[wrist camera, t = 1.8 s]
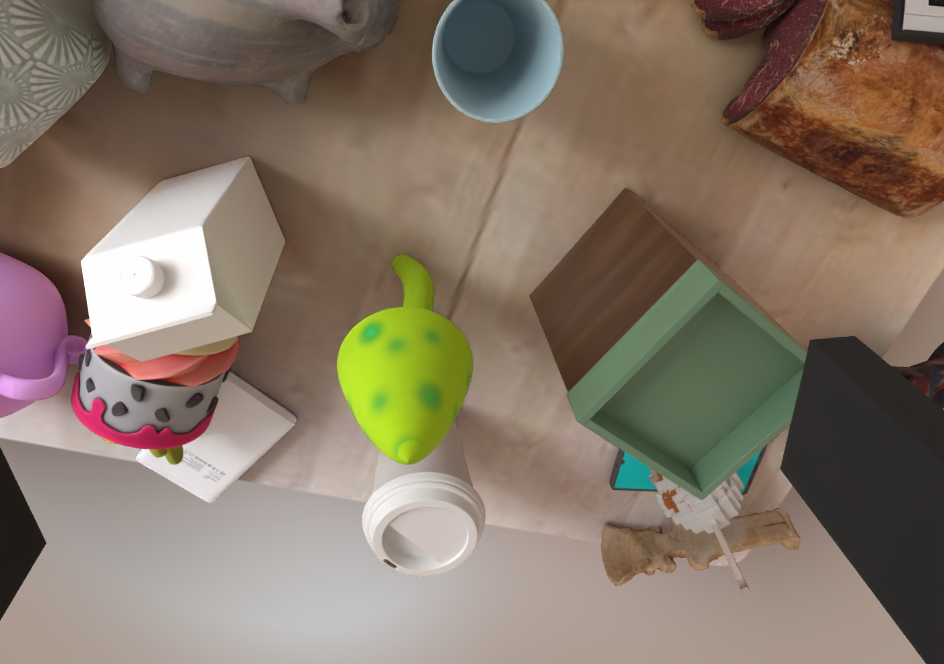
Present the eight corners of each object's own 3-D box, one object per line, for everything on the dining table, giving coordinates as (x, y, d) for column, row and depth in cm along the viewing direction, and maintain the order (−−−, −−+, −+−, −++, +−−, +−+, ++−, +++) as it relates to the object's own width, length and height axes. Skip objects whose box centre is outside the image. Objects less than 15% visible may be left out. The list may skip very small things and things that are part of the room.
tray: (565, 394, 46) (576, 421, 43) (698, 258, 42) (719, 279, 39) (685, 472, 50) (702, 501, 48) (815, 356, 46) (841, 381, 44)
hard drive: (297, 415, 62) (215, 494, 66) (222, 364, 59) (140, 449, 62) (295, 426, 61) (211, 505, 64) (218, 373, 58) (134, 460, 61)
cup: (538, -22, 47) (572, -16, 38) (527, 94, 51) (556, 125, 41) (427, -29, 46) (435, -24, 37) (425, 89, 50) (431, 121, 41)
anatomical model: (767, 422, 68) (830, 331, 75) (894, 499, 63) (949, 394, 70) (801, 370, 61) (868, 274, 67) (948, 452, 55) (1005, 339, 62)
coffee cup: (351, 396, 62) (340, 514, 49) (451, 364, 61) (466, 475, 48) (389, 471, 67) (388, 597, 54) (481, 442, 66) (503, 563, 53)
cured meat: (767, -168, 44) (826, -186, 38) (1040, -9, 50) (1126, -4, 45) (636, 103, 52) (668, 123, 46) (888, 210, 58) (944, 240, 52)
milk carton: (286, 240, 54) (240, 367, 38) (201, 264, 54) (118, 400, 38) (250, 154, 51) (182, 253, 34) (160, 180, 51) (48, 290, 34)
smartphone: (746, 494, 72) (610, 490, 69) (742, 489, 72) (608, 484, 70) (770, 439, 68) (628, 432, 66) (766, 433, 69) (625, 426, 67)
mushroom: (329, 255, 55) (288, 452, 33) (413, 195, 53) (426, 362, 32) (393, 327, 59) (393, 546, 37) (473, 273, 57) (521, 470, 35)
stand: (529, 296, 59) (567, 393, 46) (625, 187, 55) (697, 260, 42) (625, 363, 63) (685, 470, 50) (720, 267, 59) (813, 356, 46)
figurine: (774, 512, 75) (596, 543, 75) (779, 488, 73) (594, 520, 73) (807, 570, 69) (613, 603, 69) (813, 545, 67) (612, 580, 67)
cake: (131, 243, 53) (90, 395, 59) (72, 294, 44) (29, 470, 49) (262, 291, 56) (211, 432, 61) (233, 349, 47) (176, 511, 52)
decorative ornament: (634, 455, 68) (684, 585, 56) (706, 420, 66) (774, 547, 54) (665, 498, 72) (718, 628, 60) (734, 466, 70) (803, 593, 58)
